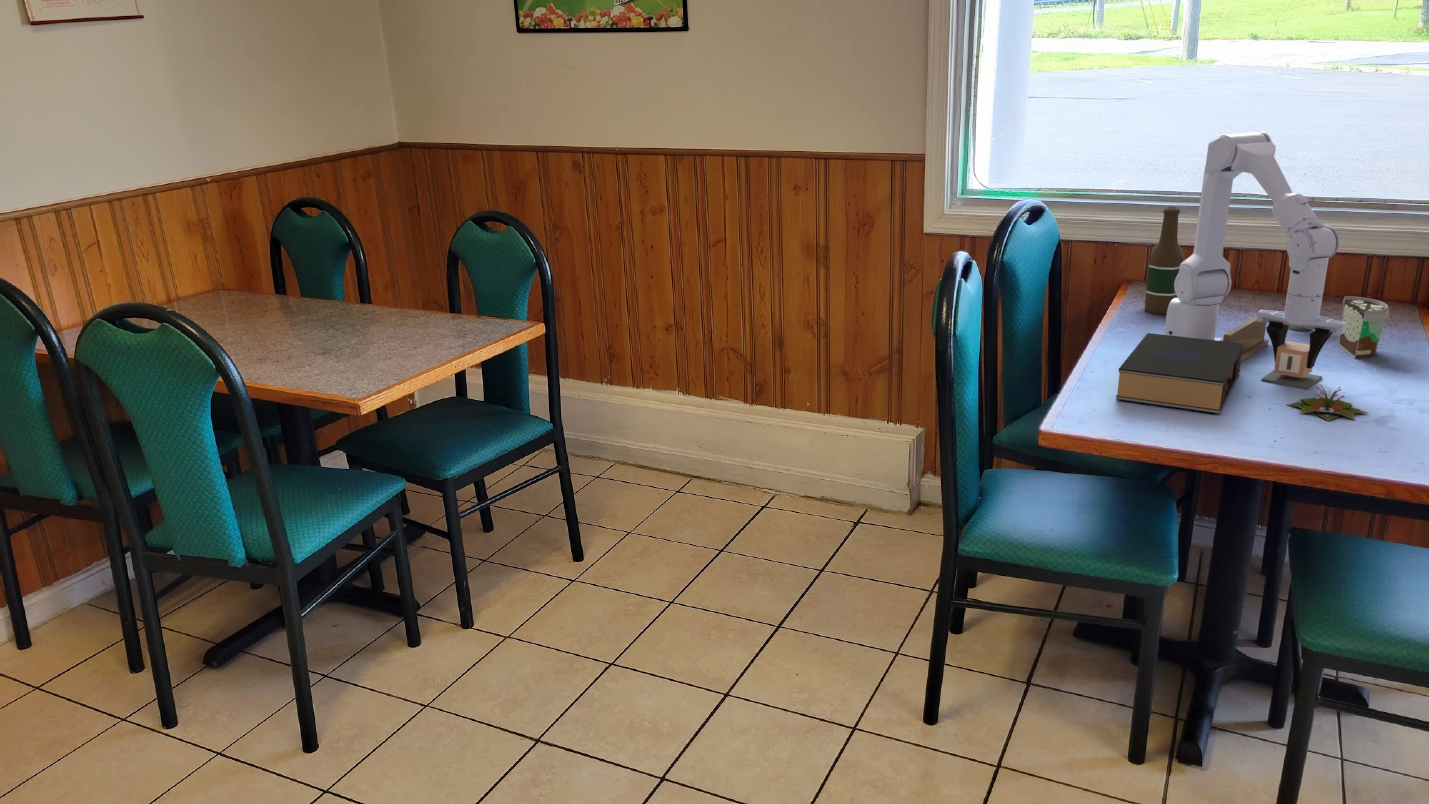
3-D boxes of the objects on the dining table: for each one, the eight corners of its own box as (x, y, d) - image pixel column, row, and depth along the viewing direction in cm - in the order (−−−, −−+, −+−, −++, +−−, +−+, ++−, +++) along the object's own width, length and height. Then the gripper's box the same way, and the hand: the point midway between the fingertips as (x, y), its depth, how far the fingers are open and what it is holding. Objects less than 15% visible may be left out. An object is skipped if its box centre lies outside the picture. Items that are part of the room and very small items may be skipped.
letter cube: (1283, 366, 199) (1287, 341, 197) (1311, 371, 196) (1315, 345, 194) (1273, 373, 196) (1276, 347, 194) (1302, 378, 192) (1306, 352, 191)
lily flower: (1327, 429, 174) (1331, 403, 173) (1271, 406, 185) (1275, 381, 184) (1383, 418, 178) (1388, 393, 176) (1325, 396, 188) (1329, 372, 187)
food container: (1392, 361, 204) (1401, 311, 200) (1357, 360, 205) (1366, 311, 201) (1368, 343, 215) (1377, 295, 212) (1335, 342, 216) (1343, 295, 213)
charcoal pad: (1261, 380, 196) (1261, 378, 196) (1276, 370, 202) (1276, 368, 202) (1307, 389, 191) (1307, 387, 191) (1321, 378, 196) (1322, 376, 196)
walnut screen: (1215, 365, 206) (1219, 333, 204) (1252, 341, 219) (1256, 311, 217) (1230, 368, 204) (1235, 336, 202) (1267, 344, 217) (1272, 314, 215)
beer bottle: (1184, 314, 240) (1196, 209, 232) (1150, 315, 241) (1161, 211, 233) (1171, 305, 248) (1182, 204, 240) (1138, 306, 248) (1148, 205, 240)
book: (1239, 376, 200) (1244, 343, 198) (1219, 418, 181) (1224, 381, 178) (1144, 364, 209) (1147, 332, 207) (1115, 403, 190) (1118, 368, 187)
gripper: (1254, 292, 193) (1245, 362, 198) (1342, 303, 183) (1329, 377, 188) (1268, 284, 198) (1258, 353, 202) (1354, 295, 188) (1342, 367, 192)
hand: (1293, 364), depth 195 cm, fingers closed on letter cube, 5 cm apart
